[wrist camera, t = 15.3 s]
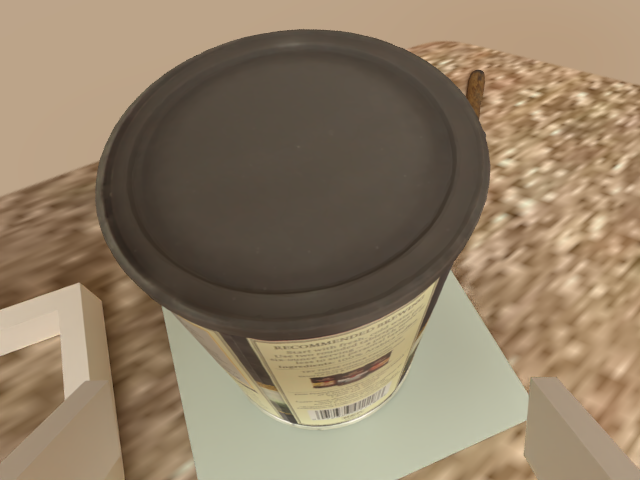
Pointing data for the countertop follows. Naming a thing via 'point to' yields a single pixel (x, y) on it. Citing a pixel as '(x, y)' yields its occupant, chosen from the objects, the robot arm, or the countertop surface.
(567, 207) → the countertop surface
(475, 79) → the can opener
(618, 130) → the countertop surface
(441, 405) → the mat
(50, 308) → the holder frame
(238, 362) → the coffee can
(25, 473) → the robot arm
